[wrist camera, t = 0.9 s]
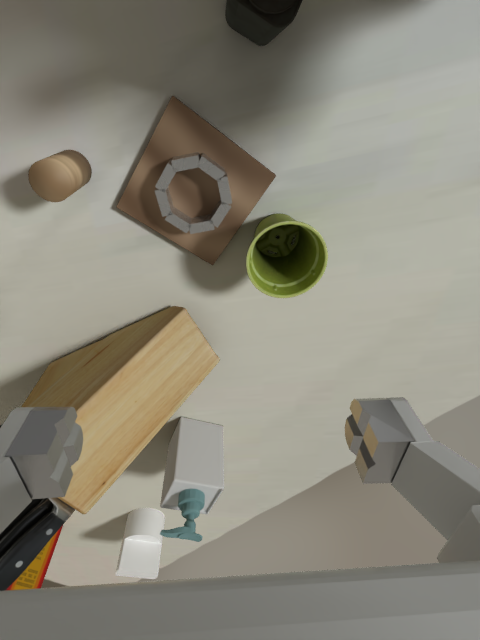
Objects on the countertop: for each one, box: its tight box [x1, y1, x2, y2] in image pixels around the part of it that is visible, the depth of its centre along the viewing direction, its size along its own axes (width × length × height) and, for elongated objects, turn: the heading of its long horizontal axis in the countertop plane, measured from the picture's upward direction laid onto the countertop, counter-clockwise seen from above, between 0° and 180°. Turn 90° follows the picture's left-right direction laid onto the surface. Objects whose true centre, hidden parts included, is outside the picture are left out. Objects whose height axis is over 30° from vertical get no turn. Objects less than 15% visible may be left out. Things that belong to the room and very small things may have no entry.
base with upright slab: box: [116, 508, 165, 579], centre depth 80 cm, size 9×9×12 cm
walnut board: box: [117, 96, 276, 265], centre depth 42 cm, size 14×14×1 cm
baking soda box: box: [5, 525, 63, 591], centre depth 78 cm, size 10×6×16 cm
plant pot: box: [246, 214, 328, 298], centre depth 43 cm, size 9×9×9 cm
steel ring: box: [155, 152, 232, 234], centre depth 41 cm, size 8×8×2 cm
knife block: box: [0, 306, 220, 591], centre depth 45 cm, size 11×35×31 cm, turn 116°
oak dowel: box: [28, 150, 92, 202], centre depth 38 cm, size 4×4×7 cm
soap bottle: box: [160, 417, 224, 542], centre depth 61 cm, size 9×9×19 cm
